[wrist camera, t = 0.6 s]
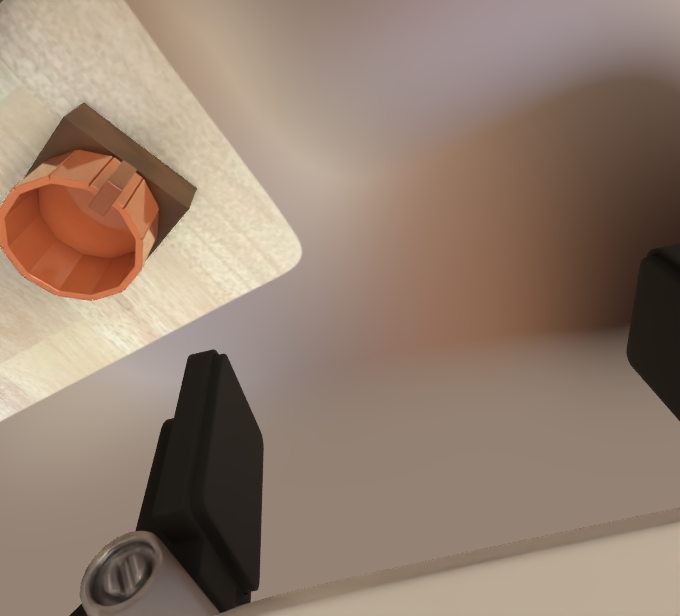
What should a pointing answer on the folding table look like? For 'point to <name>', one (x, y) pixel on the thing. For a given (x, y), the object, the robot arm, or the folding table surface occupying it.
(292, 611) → the robot arm
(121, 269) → the orange stave bucket
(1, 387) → the folding table surface
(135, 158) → the stand
